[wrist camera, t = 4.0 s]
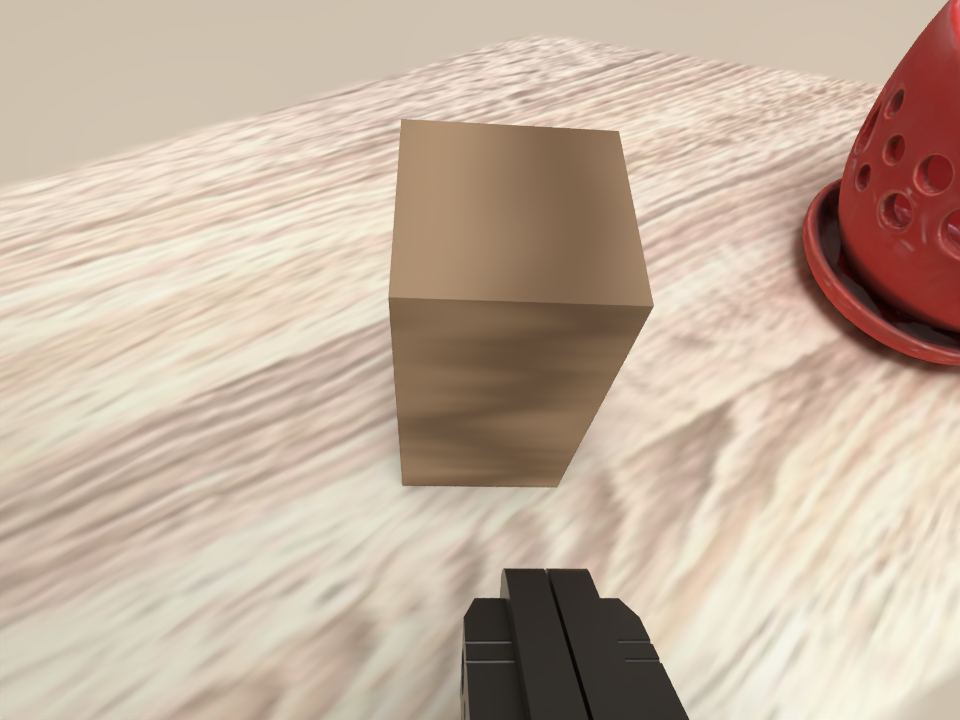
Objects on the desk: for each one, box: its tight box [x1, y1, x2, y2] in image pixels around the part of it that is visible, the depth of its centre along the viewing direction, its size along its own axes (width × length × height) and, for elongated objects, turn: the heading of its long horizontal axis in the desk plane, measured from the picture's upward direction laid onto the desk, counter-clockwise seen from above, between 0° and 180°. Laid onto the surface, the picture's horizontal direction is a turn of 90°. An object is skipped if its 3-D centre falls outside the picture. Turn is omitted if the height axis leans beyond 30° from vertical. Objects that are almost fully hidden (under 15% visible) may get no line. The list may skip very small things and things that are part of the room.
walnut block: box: [389, 119, 654, 487], centre depth 21 cm, size 6×6×12 cm
